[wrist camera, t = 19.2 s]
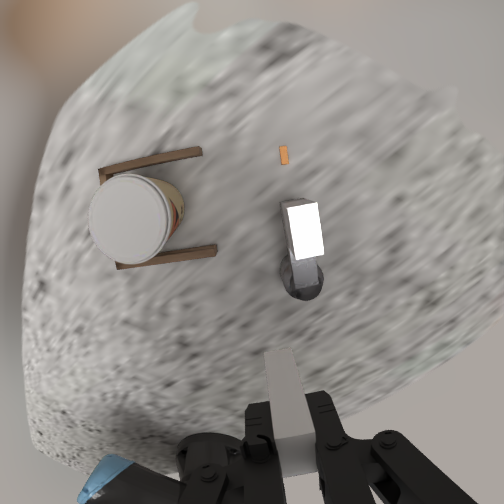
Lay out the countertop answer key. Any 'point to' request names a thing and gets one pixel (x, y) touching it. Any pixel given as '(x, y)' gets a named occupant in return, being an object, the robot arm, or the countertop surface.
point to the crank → (303, 246)
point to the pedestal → (286, 275)
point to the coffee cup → (134, 217)
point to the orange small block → (284, 155)
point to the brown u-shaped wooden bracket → (108, 171)
